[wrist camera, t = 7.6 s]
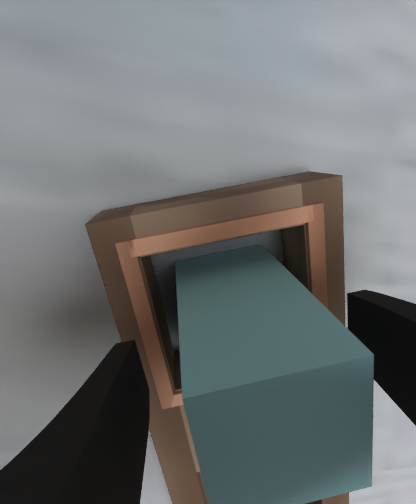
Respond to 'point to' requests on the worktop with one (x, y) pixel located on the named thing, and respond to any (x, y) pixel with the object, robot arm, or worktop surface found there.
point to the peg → (270, 383)
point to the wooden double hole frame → (200, 233)
